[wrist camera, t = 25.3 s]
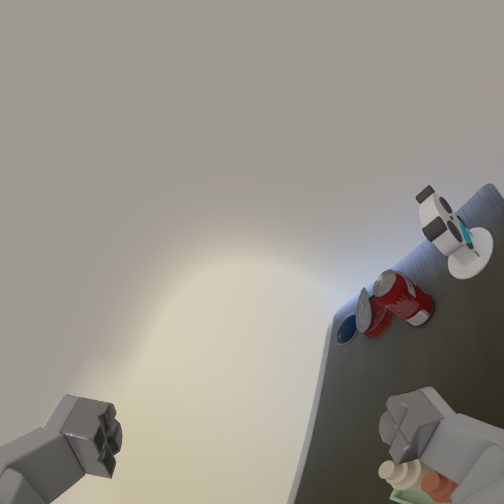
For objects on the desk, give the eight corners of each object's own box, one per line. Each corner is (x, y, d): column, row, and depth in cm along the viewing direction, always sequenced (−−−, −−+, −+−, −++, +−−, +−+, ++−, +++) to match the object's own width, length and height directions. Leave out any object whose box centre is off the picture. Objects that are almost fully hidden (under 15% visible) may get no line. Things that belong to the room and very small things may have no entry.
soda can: (435, 322, 48) (395, 291, 46) (408, 331, 53) (368, 304, 51) (436, 292, 51) (399, 260, 50) (411, 303, 57) (373, 274, 55)
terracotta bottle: (484, 496, 18) (448, 499, 16) (451, 504, 21) (408, 506, 20) (485, 461, 22) (451, 455, 20) (454, 472, 25) (412, 466, 23)
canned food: (403, 334, 60) (376, 336, 56) (370, 338, 68) (341, 340, 64) (398, 284, 64) (371, 281, 59) (367, 293, 72) (338, 291, 68)
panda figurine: (500, 260, 39) (456, 207, 37) (453, 292, 47) (404, 248, 45) (484, 218, 47) (441, 169, 45) (445, 248, 55) (400, 206, 53)
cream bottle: (444, 488, 24) (401, 485, 23) (415, 494, 27) (367, 490, 26) (446, 456, 28) (404, 446, 26) (418, 464, 31) (372, 454, 30)
